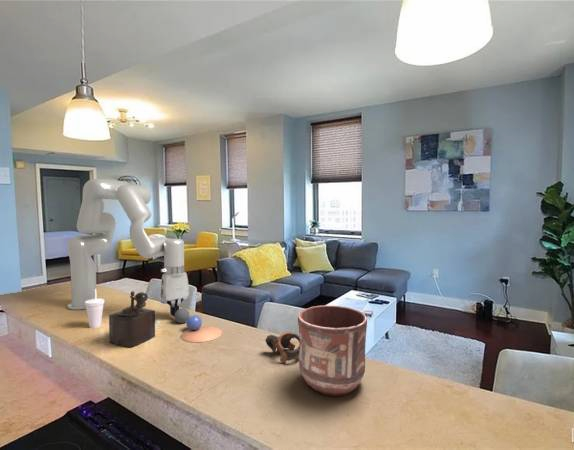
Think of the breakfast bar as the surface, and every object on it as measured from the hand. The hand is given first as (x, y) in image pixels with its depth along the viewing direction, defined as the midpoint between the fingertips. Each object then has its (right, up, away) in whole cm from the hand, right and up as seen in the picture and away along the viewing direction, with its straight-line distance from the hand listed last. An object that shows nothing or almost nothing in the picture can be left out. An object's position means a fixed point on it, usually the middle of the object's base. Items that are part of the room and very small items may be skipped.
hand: (174, 315), depth 130 cm
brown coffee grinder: (-5, -3, -21) cm, 22 cm away
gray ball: (+4, +1, -4) cm, 6 cm away
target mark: (+15, -3, -15) cm, 21 cm away
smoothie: (-27, -2, -8) cm, 28 cm away
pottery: (+56, -5, -46) cm, 73 cm away
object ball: (+11, 0, -11) cm, 16 cm away
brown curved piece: (+44, -4, -31) cm, 54 cm away
